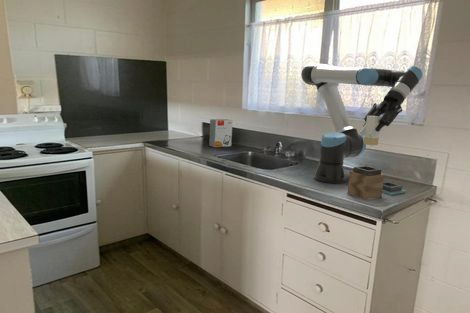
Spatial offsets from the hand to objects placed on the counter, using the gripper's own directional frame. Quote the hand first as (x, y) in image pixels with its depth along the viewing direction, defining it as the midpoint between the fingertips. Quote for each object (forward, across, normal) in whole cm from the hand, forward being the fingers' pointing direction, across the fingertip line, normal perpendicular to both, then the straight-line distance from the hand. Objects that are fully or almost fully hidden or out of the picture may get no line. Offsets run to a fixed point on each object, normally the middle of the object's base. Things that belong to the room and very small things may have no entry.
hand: (365, 134), depth 142 cm
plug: (0, 0, -6) cm, 6 cm away
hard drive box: (+21, +129, -19) cm, 132 cm away
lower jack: (+5, 0, -33) cm, 33 cm away
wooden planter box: (+16, 0, -22) cm, 27 cm away
